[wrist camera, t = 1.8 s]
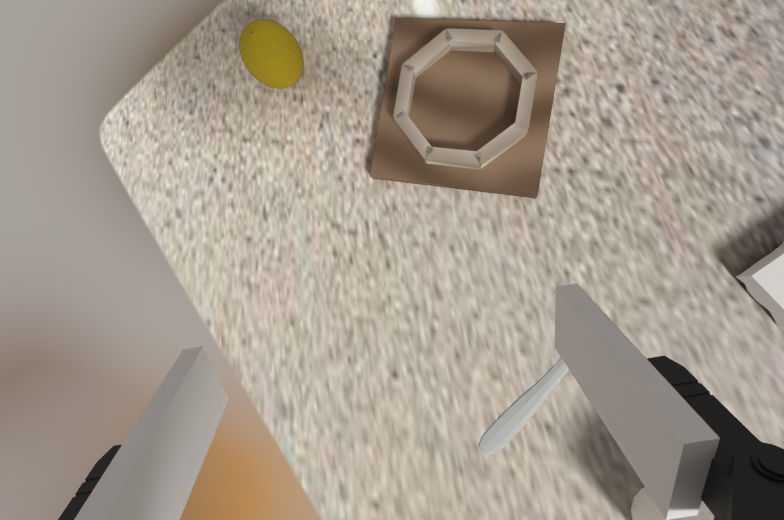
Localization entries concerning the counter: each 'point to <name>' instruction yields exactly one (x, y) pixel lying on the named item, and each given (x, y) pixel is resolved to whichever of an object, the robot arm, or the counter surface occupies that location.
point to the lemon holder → (468, 104)
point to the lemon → (271, 53)
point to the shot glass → (649, 516)
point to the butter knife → (521, 411)
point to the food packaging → (768, 283)
